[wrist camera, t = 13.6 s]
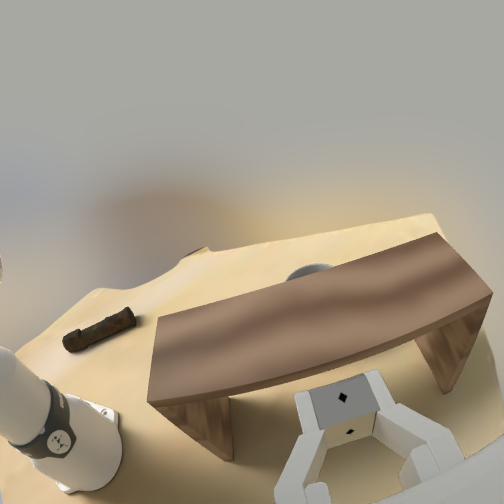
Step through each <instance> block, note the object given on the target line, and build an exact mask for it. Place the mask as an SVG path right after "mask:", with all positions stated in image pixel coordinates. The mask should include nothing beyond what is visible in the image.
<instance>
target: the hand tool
mask: <svg viewBox="0 0 504 504" xmlns="http://www.w3.org/2000/svg"><path fill="white" fill-rule="evenodd" d="M130 325H133V326H136V319H135V317H134V313H133V312H132V311H131V309H130V308H129V307H125V308H124V309H123V310H122V311H121V312H119V313H116V314H114V315H112V316H110V317H106V318H105V319H104V320H102V321H101V322H98V323H96V324H95V325H92V326H90V327H88V328H86V329H84V330H82V331H81V330H80V329H77V330H75V331H73V332H71V333H68V334H67V335H65V336H64V337H63V340H62V342H63V345H64V347H65V349H66V350H67V351H68V352H77V351H80V350H83V349H86V348H87V347H88V345H90V344H91V343H93V342H96V341H98V340H101V339H102V338H104V337H106V336H108V335H111V334H113V333H115V332H117V331H120V330H122V329H124V328H126V327H128V326H130Z"/></svg>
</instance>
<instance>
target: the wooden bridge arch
mask: <svg viewBox="0 0 504 504" xmlns="http://www.w3.org/2000/svg"><path fill="white" fill-rule="evenodd" d="M492 294H493V292H492V290H491V289H490V288H489V287H488V286H487V285H486V283H485V282H484V281H483V280H482V279H481V278H480V277H479V276H478V274H477V273H476V272H475V271H474V270H473V269H472V268H471V267H470V266H469V265H468V264H467V262H466V261H465V260H464V259H463V258H462V257H461V256H460V255H459V254H458V253H457V252H456V251H455V250H454V249H453V248H452V247H451V246H450V245H449V244H448V243H447V242H446V241H445V240H444V239H443V238H442V237H441V236H440V235H439V234H438V233H437V232H436V233H433V234H430V235H427V236H424V237H422V238H419V239H416V240H413V241H410V242H407V243H404V244H401V245H399V246H396V247H393V248H390V249H387V250H384V251H381V252H378V253H375V254H372V255H369V256H366V257H363V258H360V259H357V260H354V261H351V262H347V263H344V264H341V265H338V266H335V267H332V268H329V269H325V270H322V271H319V272H316V273H313V274H309V275H306V276H303V277H300V278H296V279H293V280H290V281H286V282H283V283H280V284H276V285H273V286H270V287H266V288H263V289H260V290H256V291H253V292H249V293H246V294H242V295H239V296H235V297H232V298H228V299H225V300H221V301H217V302H214V303H210V304H207V305H203V306H199V307H196V308H192V309H188V310H184V311H181V312H177V313H173V314H169V315H165V316H161V317H158V322H157V328H156V335H155V341H154V348H153V355H152V362H151V370H150V378H149V386H148V395H147V402H148V403H149V404H150V405H151V406H152V407H154V408H155V409H156V410H157V411H158V412H159V413H161V414H162V415H163V416H164V417H165V418H167V419H168V420H169V421H170V422H172V423H173V424H174V425H175V426H177V427H178V428H179V429H181V430H182V431H183V432H184V433H186V434H187V435H188V436H190V437H191V438H192V439H194V440H195V441H196V442H198V443H199V444H201V445H202V446H203V447H205V448H206V449H208V450H209V451H210V452H212V453H213V454H215V455H216V456H218V457H219V458H221V459H222V460H224V461H231V460H234V457H233V445H232V434H231V421H230V409H229V397H228V396H232V395H237V394H242V393H246V392H251V391H255V390H260V389H264V388H268V387H272V386H276V385H280V384H284V383H287V382H291V381H295V380H298V379H302V378H306V377H309V376H312V375H316V374H319V373H322V372H326V371H329V370H332V369H335V368H338V367H341V366H344V365H347V364H350V363H353V362H356V361H359V360H362V359H364V358H367V357H370V356H373V355H375V354H378V353H381V352H383V351H386V350H388V349H391V348H394V347H396V346H399V345H401V344H403V343H406V342H408V341H411V340H413V339H415V341H416V343H417V345H418V347H419V349H420V350H421V352H422V354H423V356H424V358H425V360H426V361H427V363H428V365H429V367H430V369H431V371H432V373H433V375H434V376H435V378H436V380H437V382H438V384H439V386H440V388H441V390H442V392H443V394H446V393H448V392H450V391H451V390H452V388H453V386H454V384H455V383H456V381H457V379H458V377H459V375H460V373H461V371H462V369H463V367H464V364H465V362H466V360H467V358H468V356H469V354H470V351H471V349H472V347H473V345H474V342H475V340H476V338H477V335H478V333H479V330H480V328H481V325H482V323H483V320H484V317H485V314H486V312H487V309H488V306H489V303H490V301H491V298H492Z"/></svg>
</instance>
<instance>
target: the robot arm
mask: <svg viewBox="0 0 504 504" xmlns="http://www.w3.org/2000/svg"><path fill="white" fill-rule="evenodd" d="M1 282H2V260H1V255H0V284H1ZM294 398H295V402H296V406H297V411H298V415H299V419H300V423H301V427H302V431H303V434H302V435H299V437H298V439H297V441H296V444H295V446H294V448H293V450H292V452H291V455H290V457H289V459H288V461H287V463H286V465H285V468H284V470H283V472H282V474H281V476H280V478H279V480H278V482H277V484H276V486H275V488H274V490H273V492H274V499H275V504H332V502H331V498H330V494H329V491H328V487H327V483H324V482H321V481H320V482H317V483H316V480H317V478H318V475H319V472H320V470H321V467H322V464H323V461H324V458H325V456H326V453H327V449H330V448H333V447H336V446H339V445H342V444H345V443H348V442H351V441H355V440H358V439H361V438H364V437H367V436H370V435H372V436H373V437H374V438H376V439H377V440H379V441H380V442H381V443H383V444H384V445H385V446H387V447H388V448H390V449H391V450H392V451H394V452H395V453H397V454H398V455H399V456H401V457H402V458H404V459H405V460H406V462H405V464H404V465H403V467H402V469H401V471H400V472H399V474H398V477H399V480H400V483H401V486H402V488H403V491H402V492H399V493H397V494H395V495H392V496H390V497H387V498H384V499H382V500H379V501H376V502H373V503H371V504H504V434H503V435H502V436H500V437H499V438H497V439H496V440H495V441H493V442H492V443H490V444H489V445H487V446H486V447H484V448H483V449H481V450H480V451H478V452H476V453H475V454H473V455H472V456H470V457H468V458H467V459H465V457H464V455H463V453H462V451H461V449H460V447H459V445H458V443H457V441H456V439H455V437H454V436H453V434H452V432H451V430H450V429H448V428H446V427H444V426H442V425H440V424H438V423H436V422H434V421H432V420H431V419H429V418H427V417H425V416H423V415H421V414H419V413H417V412H416V411H414V410H412V409H410V408H408V407H406V406H405V405H403V404H401V403H398V404H396V403H395V401H394V399H393V397H392V395H391V393H390V391H389V389H388V387H387V385H386V383H385V381H384V379H383V377H382V375H381V374H380V372H379V370H377V369H374V370H371V371H368V372H365V373H361V374H359V375H356V376H353V377H350V378H347V379H344V380H341V381H338V382H336V383H332V384H329V385H325V386H322V387H318V388H315V389H311V390H306V391H303V392H299V393H295V394H294ZM0 435H1V436H2V437H4V438H5V439H7V440H8V442H9V443H10V444H11V445H12V446H13V447H14V448H16V449H17V450H18V451H19V452H21V453H22V454H24V455H27V456H28V457H30V460H31V462H32V464H33V467H34V468H35V469H36V470H38V471H40V472H41V473H43V474H45V475H46V476H48V477H50V478H52V479H53V480H55V482H56V484H57V485H58V487H59V489H60V490H61V491H62V492H64V493H66V494H69V493H73V492H75V491H78V490H81V491H93V490H97V489H99V488H101V487H103V486H105V485H106V484H107V483H108V482H109V481H110V480H111V479H112V478H113V477H114V475H115V473H116V472H117V470H118V467H119V465H120V461H121V456H122V442H121V438H120V435H119V432H118V413H117V412H116V411H114V410H113V409H110V408H107V407H104V406H101V405H98V404H95V403H93V402H90V401H87V400H84V399H82V398H79V397H76V396H74V395H71V394H69V393H66V394H63V393H60V392H59V390H58V389H57V388H55V387H54V386H53V385H51V384H49V383H48V382H47V381H45V380H42V379H40V378H39V377H38V376H37V375H35V374H34V373H33V372H32V371H31V370H30V369H29V368H28V367H27V366H26V365H25V364H24V363H23V362H22V361H21V360H20V359H19V358H18V357H17V356H16V355H15V354H14V353H13V352H11V351H10V350H8V349H6V348H3V347H0Z"/></svg>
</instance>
